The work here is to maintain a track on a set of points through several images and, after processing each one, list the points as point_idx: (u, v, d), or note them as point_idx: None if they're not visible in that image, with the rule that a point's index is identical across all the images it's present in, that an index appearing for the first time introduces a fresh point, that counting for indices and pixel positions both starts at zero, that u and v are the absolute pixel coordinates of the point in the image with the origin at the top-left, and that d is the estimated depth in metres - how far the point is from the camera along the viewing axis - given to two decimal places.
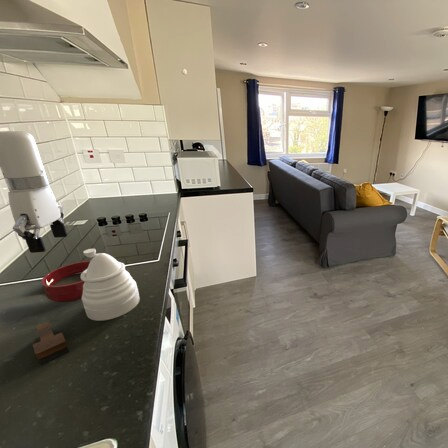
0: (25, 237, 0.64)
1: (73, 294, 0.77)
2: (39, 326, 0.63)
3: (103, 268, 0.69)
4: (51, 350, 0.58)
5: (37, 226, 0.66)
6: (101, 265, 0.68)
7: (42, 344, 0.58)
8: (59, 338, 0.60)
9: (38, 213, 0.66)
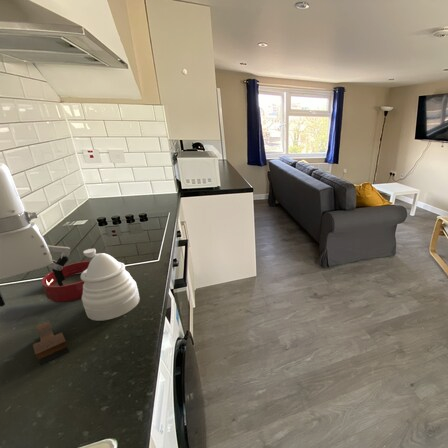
0: None
1: (73, 294, 0.77)
2: (39, 326, 0.63)
3: (103, 268, 0.69)
4: (51, 350, 0.58)
5: None
6: (101, 265, 0.68)
7: (42, 344, 0.58)
8: (59, 338, 0.60)
9: None
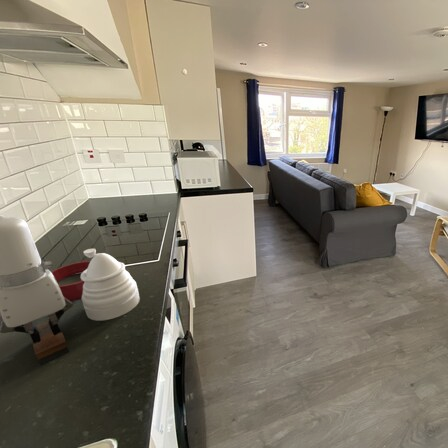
0: None
1: (73, 294, 0.77)
2: (39, 326, 0.63)
3: (103, 268, 0.69)
4: (51, 350, 0.58)
5: (8, 326, 0.56)
6: (101, 265, 0.69)
7: (42, 344, 0.58)
8: (59, 338, 0.60)
9: (9, 313, 0.56)
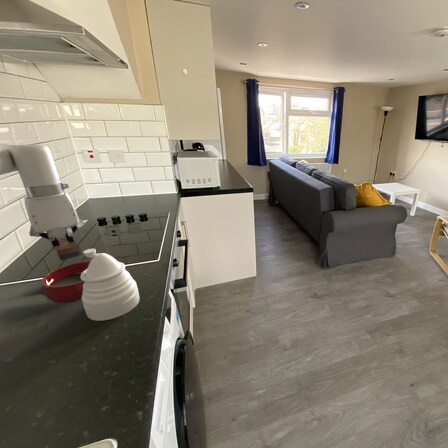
0: (45, 237, 0.76)
1: (73, 294, 0.77)
2: (58, 238, 0.80)
3: (103, 268, 0.69)
4: (68, 250, 0.74)
5: (35, 230, 0.73)
6: (101, 265, 0.68)
7: (61, 246, 0.75)
8: (74, 244, 0.76)
9: (36, 219, 0.72)
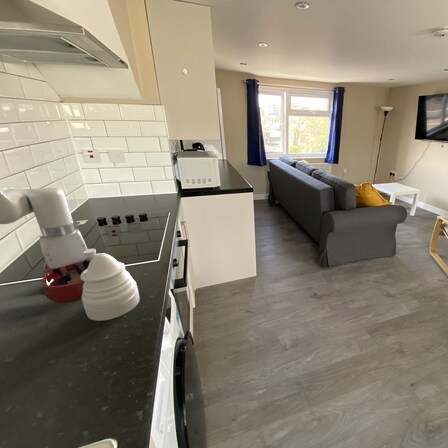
0: None
1: (73, 294, 0.77)
2: (69, 272, 0.85)
3: (103, 268, 0.69)
4: None
5: (49, 267, 0.77)
6: (101, 265, 0.68)
7: (73, 281, 0.80)
8: None
9: (51, 257, 0.77)
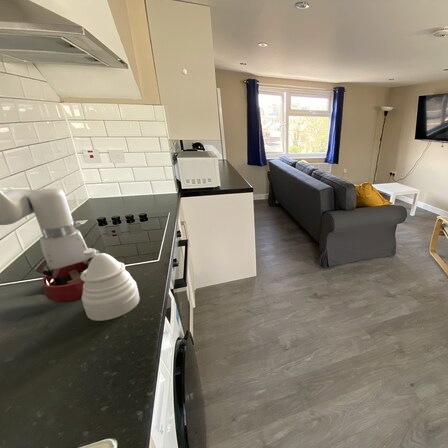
0: None
1: (73, 294, 0.77)
2: (70, 271, 0.85)
3: (103, 268, 0.69)
4: None
5: (50, 267, 0.78)
6: (101, 265, 0.68)
7: (74, 281, 0.80)
8: None
9: (51, 258, 0.77)
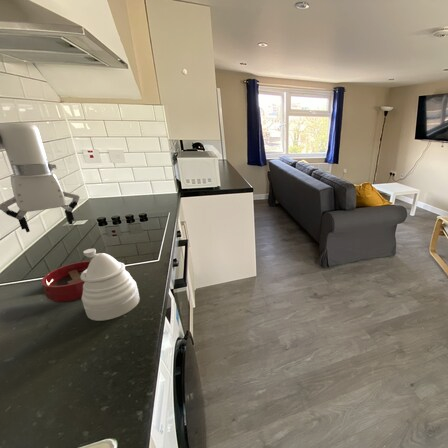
0: None
1: (73, 294, 0.77)
2: (70, 271, 0.85)
3: (103, 268, 0.69)
4: None
5: (20, 209, 0.72)
6: (101, 265, 0.68)
7: (74, 281, 0.80)
8: None
9: (22, 198, 0.72)
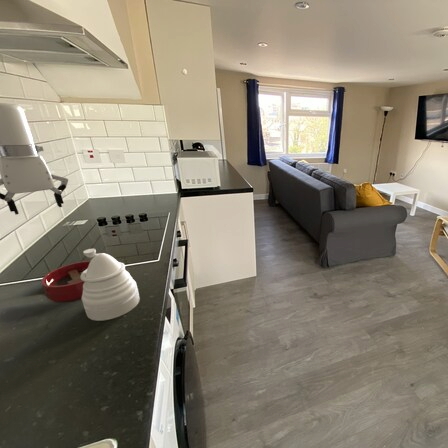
0: None
1: (73, 294, 0.77)
2: (70, 271, 0.85)
3: (103, 268, 0.69)
4: None
5: (8, 191, 0.72)
6: (101, 265, 0.68)
7: (74, 281, 0.80)
8: None
9: (9, 179, 0.72)
